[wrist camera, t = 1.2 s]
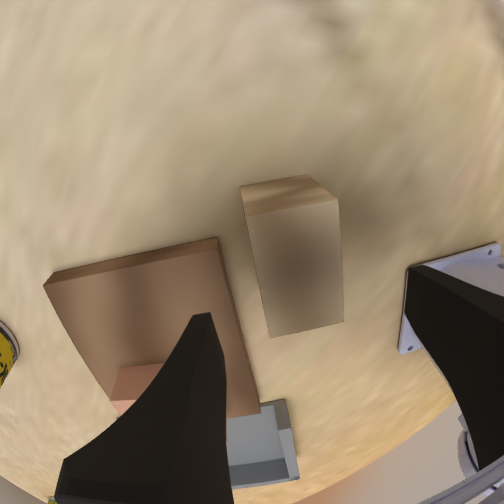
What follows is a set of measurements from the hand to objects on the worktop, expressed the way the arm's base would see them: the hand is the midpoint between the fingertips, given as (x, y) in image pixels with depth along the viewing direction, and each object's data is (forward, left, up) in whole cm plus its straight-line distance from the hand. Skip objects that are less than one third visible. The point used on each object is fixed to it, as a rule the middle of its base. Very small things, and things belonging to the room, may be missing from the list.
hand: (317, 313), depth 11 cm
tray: (+9, +20, -8) cm, 23 cm away
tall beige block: (0, 0, -8) cm, 8 cm away
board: (+9, +7, -8) cm, 13 cm away
